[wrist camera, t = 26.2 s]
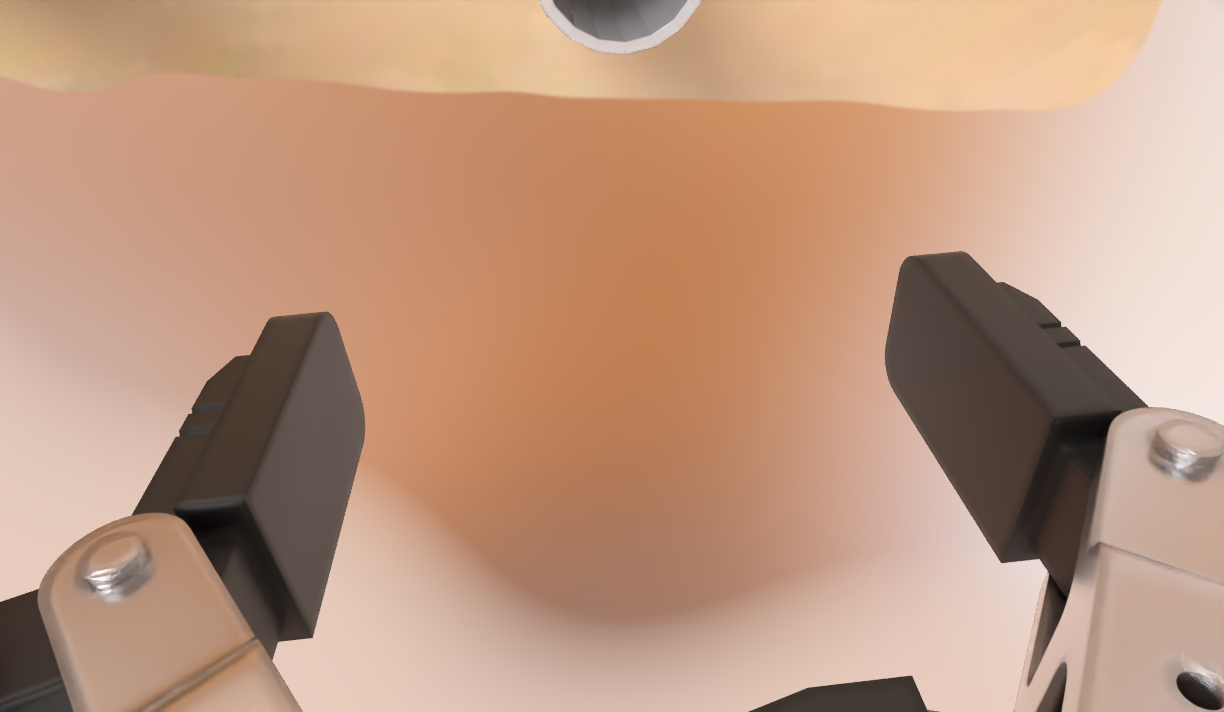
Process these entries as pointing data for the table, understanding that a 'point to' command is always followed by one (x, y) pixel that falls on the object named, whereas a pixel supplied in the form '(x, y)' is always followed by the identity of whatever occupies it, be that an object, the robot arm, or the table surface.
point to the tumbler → (619, 22)
